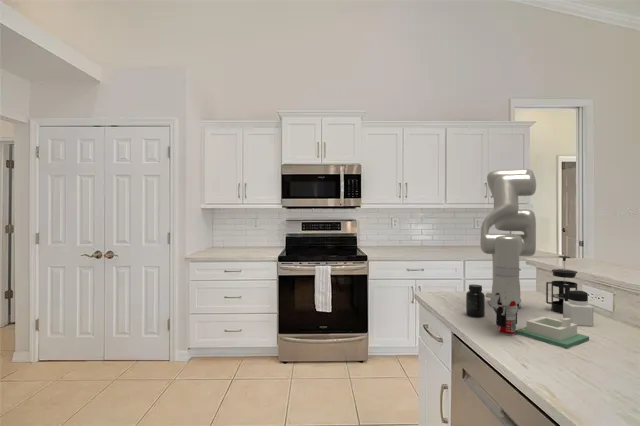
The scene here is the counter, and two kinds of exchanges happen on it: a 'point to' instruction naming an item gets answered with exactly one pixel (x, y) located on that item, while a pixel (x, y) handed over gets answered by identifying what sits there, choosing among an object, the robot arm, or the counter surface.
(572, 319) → the medicine bottle
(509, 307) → the soda can
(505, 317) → the robot arm
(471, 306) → the supplement bottle
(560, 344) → the board
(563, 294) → the french press
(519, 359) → the counter surface
